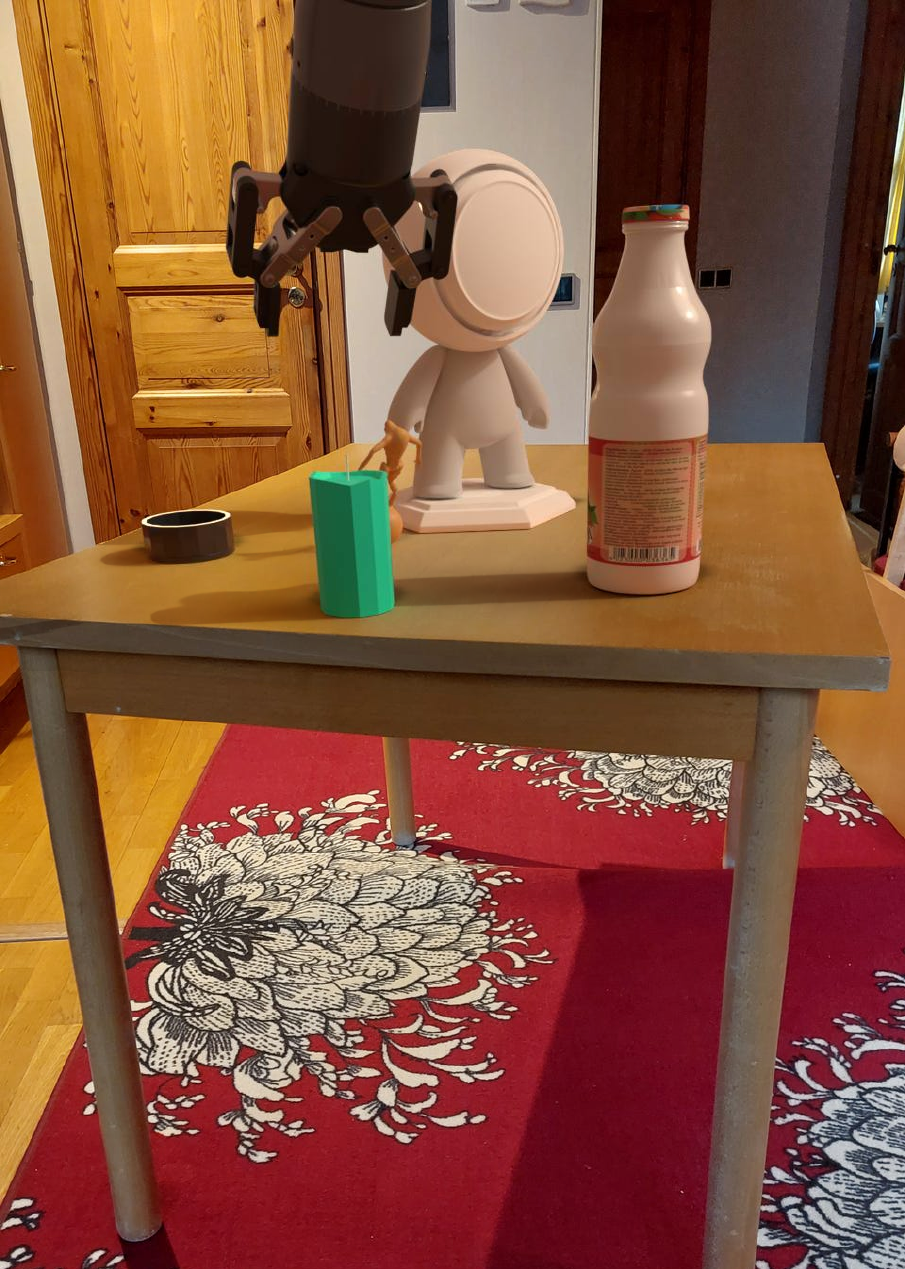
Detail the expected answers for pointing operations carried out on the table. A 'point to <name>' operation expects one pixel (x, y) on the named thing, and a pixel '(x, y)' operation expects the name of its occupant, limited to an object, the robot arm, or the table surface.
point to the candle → (352, 542)
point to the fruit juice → (648, 414)
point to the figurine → (394, 466)
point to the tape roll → (188, 536)
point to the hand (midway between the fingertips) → (332, 329)
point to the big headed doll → (480, 350)
